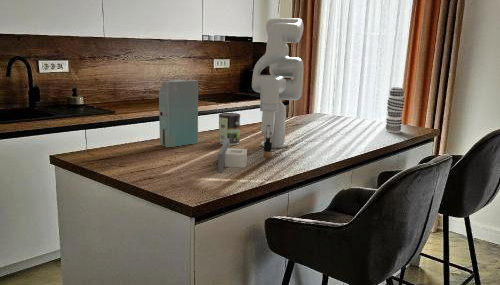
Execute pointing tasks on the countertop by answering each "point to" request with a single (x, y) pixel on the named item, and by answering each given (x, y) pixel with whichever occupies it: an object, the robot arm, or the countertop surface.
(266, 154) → the dowel
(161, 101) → the device
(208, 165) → the countertop surface
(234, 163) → the socket block
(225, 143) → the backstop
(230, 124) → the coffee can
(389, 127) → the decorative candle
